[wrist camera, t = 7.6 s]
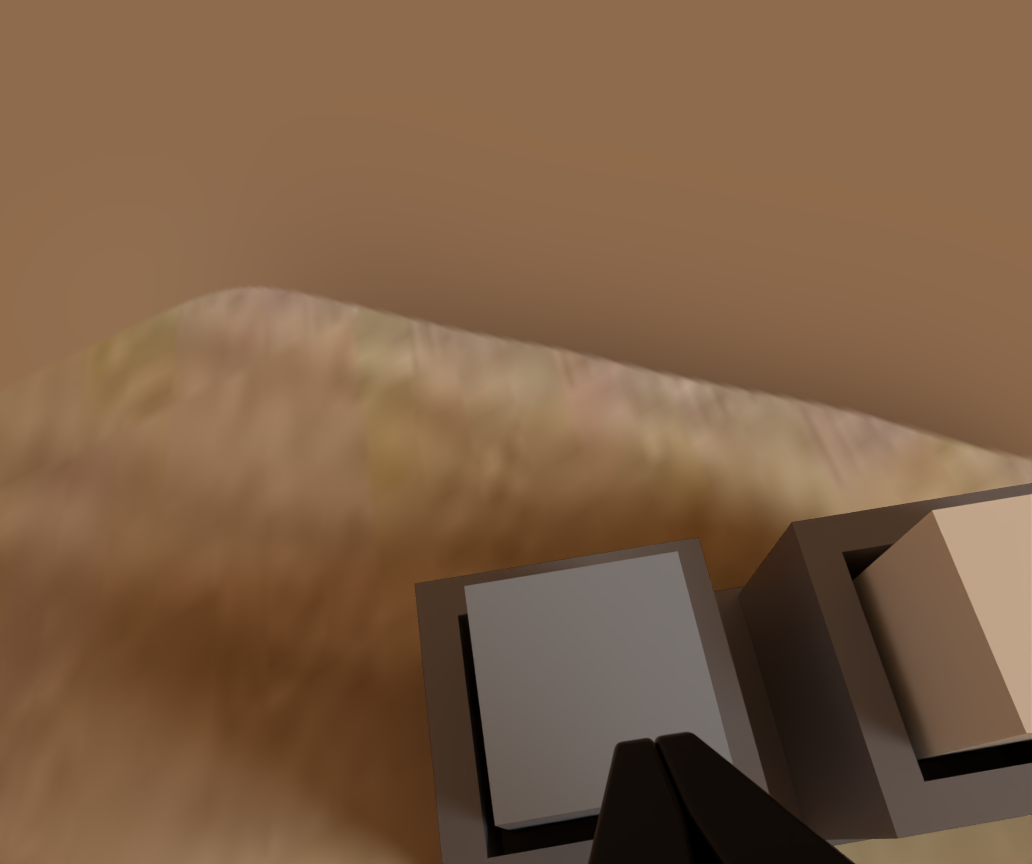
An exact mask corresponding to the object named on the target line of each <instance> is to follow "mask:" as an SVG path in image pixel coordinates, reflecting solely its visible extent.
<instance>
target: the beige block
mask: <svg viewBox="0 0 1032 864" xmlns="http://www.w3.org/2000/svg"><path fill="white" fill-rule="evenodd" d="M852 582H853V584H854V587H855V590H856V593H857V595H858V598H859V601H860V604H861V607H862V609H863V612H864V615H865V618H866V621H867V623H868V626H869V629H870V632H871V634H872V637H873V640H874V643H875V646H876V648H877V651H878V654H879V657H880V659H881V662H882V665H883V668H884V671H885V673H886V676H887V679H888V682H889V685H890V687H891V690H892V693H893V696H894V698H895V701H896V704H897V707H898V710H899V712H900V715H901V718H902V721H903V723H904V726H905V729H906V732H907V735H908V737H909V740H910V743H911V746H912V749H913V751H914V754H915V757H916V760H917V762H924V761H929V760H935V759H941V758H947V757H952V756H958V755H964V754H970V753H975V752H981V751H987V750H993V749H998V748H1004V747H1010V746H1016V745H1021V744H1025V743H1030V742H1032V494H1029V495H1023V496H1017V497H1011V498H1005V499H999V500H993V501H986V502H980V503H974V504H968V505H962V506H956V507H950V508H944V509H937V510H932V511H931V512H930V513H929V514H927V515H926V516H925V517H924V518H923V519H922V520H921V521H920V522H918V523H917V524H916V525H915V526H914V527H913V528H912V529H910V530H909V531H908V532H907V533H906V534H905V535H904V536H903V537H901V538H900V539H899V540H898V541H897V542H896V543H895V544H894V545H892V546H891V547H890V548H889V549H888V550H887V551H886V552H885V553H883V554H882V555H881V556H880V557H879V558H878V559H877V560H875V561H874V562H873V563H872V564H871V565H870V566H869V567H868V568H866V569H865V570H864V571H863V572H862V573H861V574H860V575H859V576H857V577H856V578H855V579H854V580H853V581H852Z"/></svg>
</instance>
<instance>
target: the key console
mask: <svg viewBox="0 0 1032 864" xmlns="http://www.w3.org/2000/svg"><path fill="white" fill-rule="evenodd" d="M1029 494H1032V483H1030V484H1024V485H1017V486H1011V487H1005V488H999V489H993V490H987V491H981V492H974V493H968V494H962V495H956V496H950V497H944V498H938V499H932V500H925V501H919V502H913V503H907V504H901V505H895V506H889V507H882V508H876V509H870V510H864V511H858V512H852V513H846V514H840V515H833V516H827V517H821V518H815V519H809V520H803V521H797V522H792V523H791V524H790V526H789V527H788V528H787V530H786V531H785V532H784V534H783V535H782V536H781V538H780V539H779V541H778V542H777V543H776V545H775V546H774V547H773V549H772V550H771V551H770V553H769V554H768V555H767V557H766V558H765V559H764V561H763V562H762V564H761V565H760V566H759V568H758V569H757V570H756V572H755V573H754V574H753V576H752V577H751V578H750V580H749V581H748V583H747V584H746V585H745V586H743V587H737V588H731V589H725V590H719V591H713V587H712V584H711V580H710V576H709V573H708V569H707V566H706V562H705V558H704V555H703V551H702V547H701V544H700V540H699V537H698V538H692V539H686V540H680V541H674V542H668V543H662V544H656V545H649V546H643V547H637V548H631V549H625V550H619V551H613V552H606V553H600V554H594V555H588V556H582V557H576V558H570V559H564V560H557V561H551V562H545V563H539V564H533V565H527V566H521V567H514V568H508V569H502V570H496V571H490V572H484V573H478V574H471V575H465V576H459V577H453V578H447V579H441V580H435V581H429V582H422V583H416V584H415V592H416V602H417V612H418V622H419V632H420V642H421V652H422V663H423V673H424V683H425V693H426V703H427V713H428V723H429V733H430V743H431V753H432V763H433V773H434V784H435V794H436V804H437V814H438V824H439V834H440V844H441V854H442V864H588V861H589V857H590V853H591V848H592V844H593V839H594V835H595V831H596V826H597V822H598V818H595V819H589V820H584V821H578V822H572V823H567V824H561V825H555V826H549V827H544V828H538V829H532V830H526V831H521V832H513V831H510V830H507V829H504V828H501V827H498V826H495V822H494V814H493V806H492V799H491V791H490V783H489V775H488V767H487V760H486V752H485V744H484V736H483V728H482V721H481V713H480V705H479V697H478V689H477V682H476V674H475V666H474V658H473V651H472V643H471V635H470V627H469V619H468V612H467V604H466V596H465V588H464V586H468V585H475V584H481V583H487V582H493V581H499V580H505V579H511V578H517V577H524V576H530V575H536V574H542V573H548V572H554V571H560V570H566V569H572V568H579V567H585V566H591V565H597V564H603V563H609V562H615V561H621V560H628V559H634V558H640V557H646V556H652V555H658V554H664V553H670V552H676V551H678V555H679V559H680V563H681V566H682V570H683V574H684V578H685V582H686V586H687V589H688V593H689V597H690V601H691V605H692V609H693V613H694V616H695V620H696V624H697V628H698V632H699V636H700V639H701V643H702V647H703V651H704V655H705V659H706V663H707V666H708V670H709V674H710V678H711V682H712V686H713V689H714V693H715V697H716V701H717V705H718V709H719V712H720V716H721V720H722V724H723V728H724V732H725V736H726V739H727V743H728V747H729V751H730V755H731V759H732V762H733V765H734V766H735V767H736V768H737V769H738V770H740V771H741V772H742V773H743V774H745V775H746V776H747V777H748V778H750V779H751V780H752V781H753V782H755V783H756V784H757V785H758V786H759V787H761V788H762V789H763V790H764V791H766V792H767V793H768V794H769V795H771V796H772V797H773V798H774V799H776V800H777V801H778V802H779V803H781V804H782V805H783V806H784V807H785V808H787V809H788V810H789V811H790V812H792V813H793V814H794V815H795V816H797V817H798V818H799V819H800V820H802V821H803V822H804V823H805V824H807V825H808V826H809V827H810V828H811V829H813V830H814V831H815V832H816V833H818V834H819V835H820V836H821V837H823V838H824V839H825V840H826V841H828V842H829V843H830V844H831V845H833V846H835V845H840V844H846V843H852V842H857V841H863V840H869V839H889V838H903V837H908V836H914V835H919V834H925V833H931V832H936V831H942V830H948V829H953V828H959V827H965V826H970V825H976V824H982V823H987V822H993V821H998V820H1004V819H1010V818H1015V817H1021V816H1027V815H1032V742H1030V743H1025V744H1021V745H1016V746H1010V747H1004V748H998V749H993V750H987V751H981V752H975V753H970V754H964V755H958V756H952V757H947V758H941V759H935V760H929V761H924V762H917V760H916V757H915V754H914V751H913V749H912V746H911V743H910V740H909V737H908V735H907V732H906V729H905V726H904V723H903V721H902V718H901V715H900V712H899V710H898V707H897V704H896V701H895V698H894V696H893V693H892V690H891V687H890V685H889V682H888V679H887V676H886V673H885V671H884V668H883V665H882V662H881V659H880V657H879V654H878V651H877V648H876V646H875V643H874V640H873V637H872V634H871V632H870V629H869V626H868V623H867V621H866V618H865V615H864V612H863V609H862V607H861V604H860V601H859V598H858V595H857V593H856V590H855V587H854V584H853V582H852V581H853V580H854V579H855V578H856V577H857V576H859V575H860V574H861V573H862V572H863V571H864V570H865V569H866V568H868V567H869V566H870V565H871V564H872V563H873V562H874V561H875V560H877V559H878V558H879V557H880V556H881V555H882V554H883V553H885V552H886V551H887V550H888V549H889V548H890V547H891V546H892V545H894V544H895V543H896V542H897V541H898V540H899V539H900V538H901V537H903V536H904V535H905V534H906V533H907V532H908V531H909V530H910V529H912V528H913V527H914V526H915V525H916V524H917V523H918V522H920V521H921V520H922V519H923V518H924V517H925V516H926V515H927V514H929V513H930V512H931V511H932V510H937V509H944V508H950V507H956V506H962V505H968V504H974V503H980V502H986V501H993V500H999V499H1005V498H1011V497H1017V496H1023V495H1029Z"/></svg>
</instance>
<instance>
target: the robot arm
mask: <svg viewBox="0 0 1032 864" xmlns="http://www.w3.org/2000/svg"><path fill="white" fill-rule="evenodd" d="M588 864H855V863H854V862H852V861H851V860H850V859H849V858H847V857H846V856H845V855H844V854H842V853H841V852H840V851H839V850H837V849H836V848H835V847H834V846H833V845H831V844H830V843H829V842H828V841H826V840H825V839H824V838H823V837H821V836H820V835H819V834H818V833H816V832H815V831H814V830H813V829H811V828H810V827H809V826H808V825H807V824H805V823H804V822H803V821H802V820H800V819H799V818H798V817H797V816H795V815H794V814H793V813H792V812H790V811H789V810H788V809H787V808H785V807H784V806H783V805H782V804H781V803H779V802H778V801H777V800H776V799H774V798H773V797H772V796H771V795H769V794H768V793H767V792H766V791H764V790H763V789H762V788H761V787H759V786H758V785H757V784H756V783H755V782H753V781H752V780H751V779H750V778H748V777H747V776H746V775H745V774H743V773H742V772H741V771H740V770H738V769H737V768H736V767H735V766H734V765H732V764H731V763H730V762H729V761H727V760H726V759H725V758H724V757H722V756H721V755H720V754H719V753H717V752H716V751H715V750H714V749H712V748H711V747H710V746H709V745H708V744H706V743H705V742H704V741H703V740H701V739H700V738H699V737H698V736H696V735H695V734H694V733H691V732H679V733H673V734H666V735H660V736H658V737H657V738H656V739H655V742H654V741H653V740H652V739H650V738H641V739H634V740H627V741H621V742H619V743H617V744H616V746H615V748H614V752H613V756H612V761H611V765H610V770H609V774H608V778H607V783H606V787H605V791H604V796H603V800H602V804H601V809H600V813H599V818H598V822H597V826H596V831H595V835H594V839H593V844H592V848H591V853H590V857H589V861H588Z"/></svg>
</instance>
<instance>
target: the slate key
mask: <svg viewBox="0 0 1032 864" xmlns="http://www.w3.org/2000/svg"><path fill="white" fill-rule="evenodd" d="M464 588H465V596H466V604H467V612H468V619H469V627H470V635H471V643H472V651H473V658H474V666H475V674H476V682H477V689H478V697H479V705H480V713H481V721H482V728H483V736H484V744H485V752H486V760H487V767H488V775H489V783H490V791H491V799H492V806H493V814H494V822H495V826H498V827H501V828H504V829H507V830H510V831H513V832H521V831H526V830H532V829H538V828H544V827H549V826H555V825H561V824H567V823H572V822H578V821H584V820H589V819H595V818H599V813H600V809H601V804H602V800H603V796H604V791H605V787H606V783H607V778H608V774H609V770H610V765H611V761H612V756H613V752H614V748H615V746H616V744H617V743H619V742H621V741H627V740H634V739H641V738H650V739H652V740H653V741H654V742H655V739H656V738H657V737H658V736H660V735H666V734H673V733H679V732H691V733H694V734H695V735H696V736H698V737H699V738H700V739H701V740H703V741H704V742H705V743H706V744H708V745H709V746H710V747H711V748H712V749H714V750H715V751H716V752H717V753H719V754H720V755H721V756H722V757H724V758H725V759H726V760H727V761H729V762H730V763H731V764H732V765H733V762H732V759H731V755H730V751H729V747H728V743H727V739H726V736H725V732H724V728H723V724H722V720H721V716H720V712H719V709H718V705H717V701H716V697H715V693H714V689H713V686H712V682H711V678H710V674H709V670H708V666H707V663H706V659H705V655H704V651H703V647H702V643H701V639H700V636H699V632H698V628H697V624H696V620H695V616H694V613H693V609H692V605H691V601H690V597H689V593H688V589H687V586H686V582H685V578H684V574H683V570H682V566H681V563H680V559H679V555H678V551H676V552H670V553H664V554H658V555H652V556H646V557H640V558H634V559H628V560H621V561H615V562H609V563H603V564H597V565H591V566H585V567H579V568H572V569H566V570H560V571H554V572H548V573H542V574H536V575H530V576H524V577H517V578H511V579H505V580H499V581H493V582H487V583H481V584H475V585H468V586H464Z"/></svg>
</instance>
